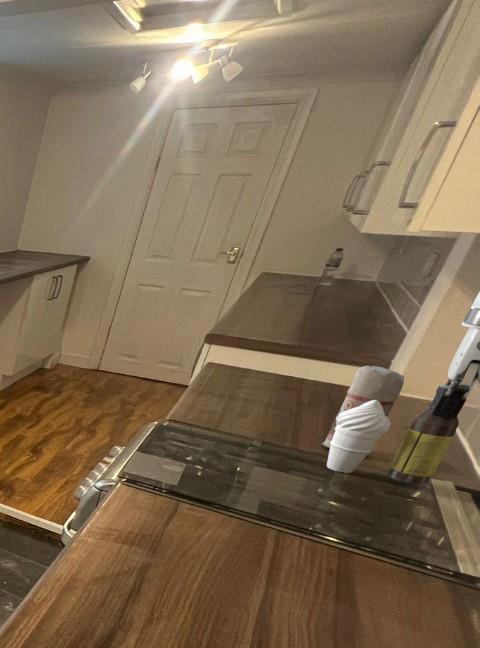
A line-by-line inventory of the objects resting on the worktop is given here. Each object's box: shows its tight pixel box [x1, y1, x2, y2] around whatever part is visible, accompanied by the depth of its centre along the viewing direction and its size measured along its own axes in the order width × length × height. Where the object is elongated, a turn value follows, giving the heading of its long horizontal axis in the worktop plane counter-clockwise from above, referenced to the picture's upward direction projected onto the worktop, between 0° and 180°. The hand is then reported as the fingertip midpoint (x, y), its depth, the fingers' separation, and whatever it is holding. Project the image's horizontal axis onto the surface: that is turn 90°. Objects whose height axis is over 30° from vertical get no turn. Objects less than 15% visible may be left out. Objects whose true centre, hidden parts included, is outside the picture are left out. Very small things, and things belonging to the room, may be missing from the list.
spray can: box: [321, 365, 405, 449], centre depth 134 cm, size 8×8×20 cm
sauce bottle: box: [387, 384, 460, 485], centre depth 117 cm, size 6×6×20 cm
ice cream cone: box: [326, 400, 392, 474], centre depth 124 cm, size 8×8×16 cm
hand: (443, 412), depth 114 cm, fingers closed on sauce bottle, 4 cm apart
